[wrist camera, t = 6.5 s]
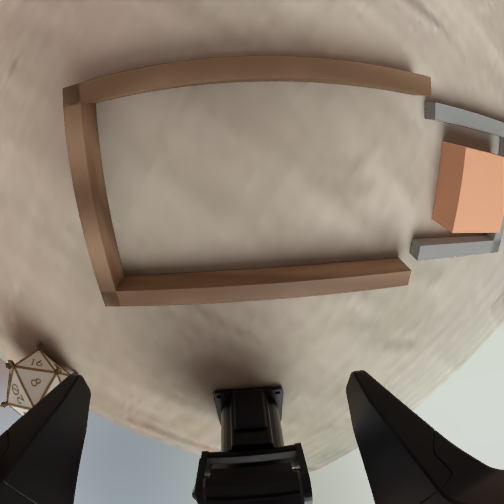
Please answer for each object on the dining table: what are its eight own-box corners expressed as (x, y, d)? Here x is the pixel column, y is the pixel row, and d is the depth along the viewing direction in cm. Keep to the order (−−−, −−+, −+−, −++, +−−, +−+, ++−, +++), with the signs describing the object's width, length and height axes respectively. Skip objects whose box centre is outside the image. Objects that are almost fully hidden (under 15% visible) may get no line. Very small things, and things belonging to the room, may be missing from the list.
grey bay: (490, 246, 21) (497, 251, 20) (409, 253, 20) (417, 260, 19) (508, 125, 16) (517, 128, 15) (425, 101, 15) (435, 102, 14)
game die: (52, 338, 27) (-19, 362, 18) (72, 326, 22) (-21, 357, 14) (85, 408, 26) (18, 440, 18) (114, 414, 22) (29, 458, 13)
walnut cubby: (395, 271, 21) (407, 285, 19) (114, 290, 20) (105, 306, 18) (413, 78, 15) (430, 77, 13) (78, 89, 14) (62, 88, 12)
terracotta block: (477, 219, 20) (499, 232, 17) (429, 217, 20) (452, 233, 17) (488, 151, 17) (513, 160, 15) (439, 140, 17) (465, 147, 14)
